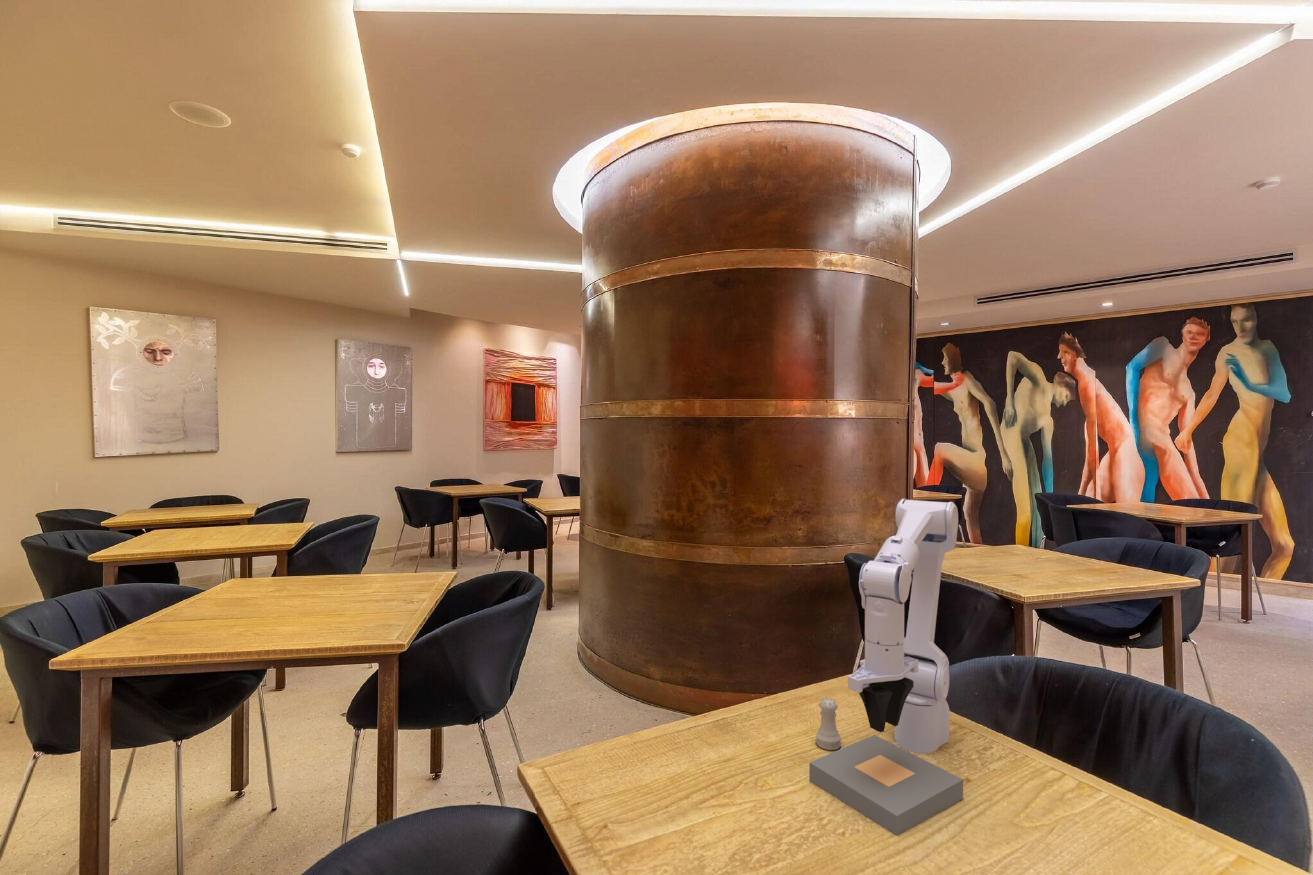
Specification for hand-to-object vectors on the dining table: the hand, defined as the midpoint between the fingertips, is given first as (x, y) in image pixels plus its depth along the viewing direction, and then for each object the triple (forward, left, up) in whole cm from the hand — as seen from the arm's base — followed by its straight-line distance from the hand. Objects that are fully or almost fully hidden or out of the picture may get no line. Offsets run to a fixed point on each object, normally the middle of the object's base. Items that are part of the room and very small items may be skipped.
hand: (883, 726), depth 95 cm
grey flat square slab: (0, 0, -10) cm, 10 cm away
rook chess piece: (-3, -14, -10) cm, 17 cm away
